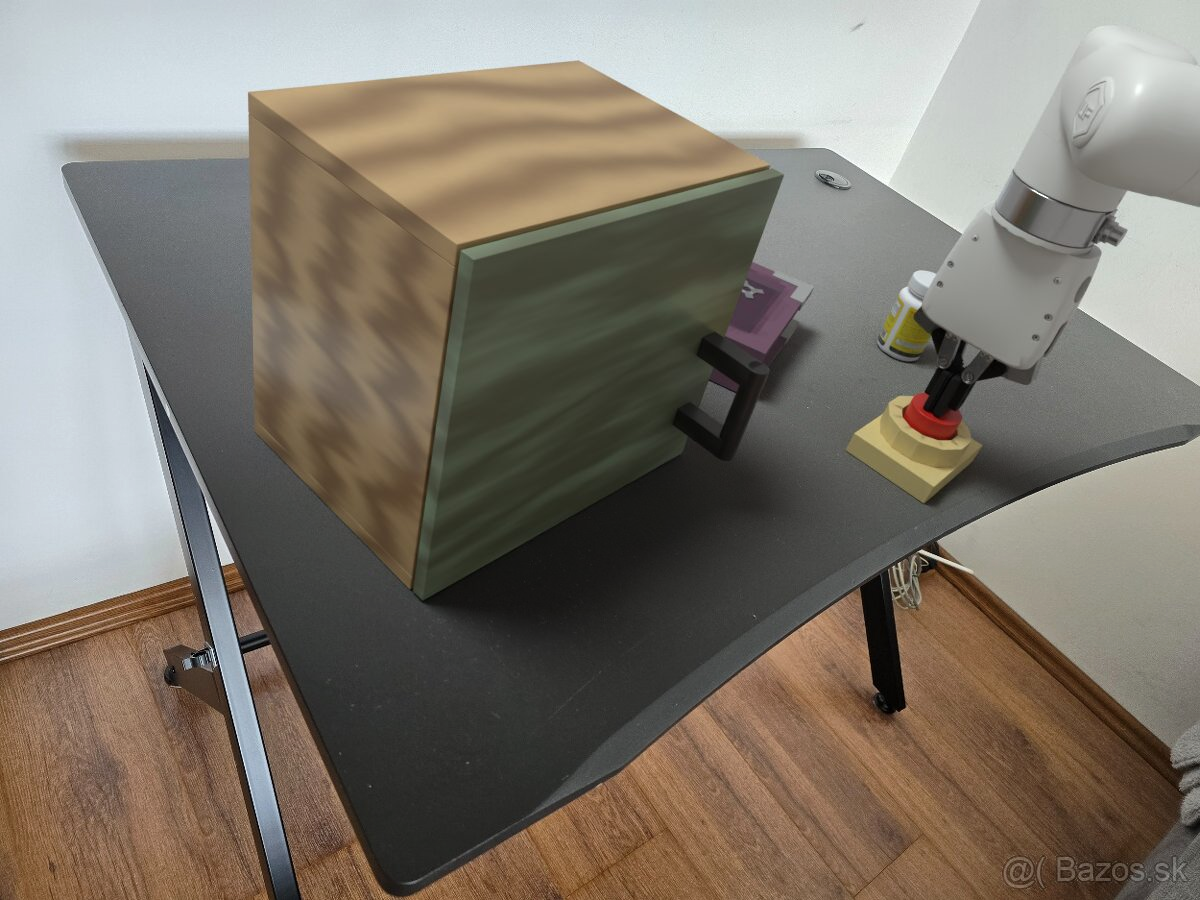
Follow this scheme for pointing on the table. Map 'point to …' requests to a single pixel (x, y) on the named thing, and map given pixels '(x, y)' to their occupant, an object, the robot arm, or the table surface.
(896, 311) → the supplement bottle
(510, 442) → the door
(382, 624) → the table surface
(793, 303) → the book
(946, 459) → the button block
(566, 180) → the cupboard
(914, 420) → the button
